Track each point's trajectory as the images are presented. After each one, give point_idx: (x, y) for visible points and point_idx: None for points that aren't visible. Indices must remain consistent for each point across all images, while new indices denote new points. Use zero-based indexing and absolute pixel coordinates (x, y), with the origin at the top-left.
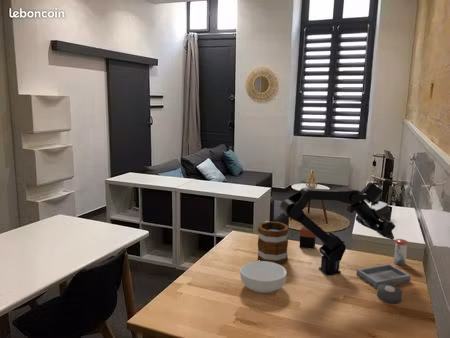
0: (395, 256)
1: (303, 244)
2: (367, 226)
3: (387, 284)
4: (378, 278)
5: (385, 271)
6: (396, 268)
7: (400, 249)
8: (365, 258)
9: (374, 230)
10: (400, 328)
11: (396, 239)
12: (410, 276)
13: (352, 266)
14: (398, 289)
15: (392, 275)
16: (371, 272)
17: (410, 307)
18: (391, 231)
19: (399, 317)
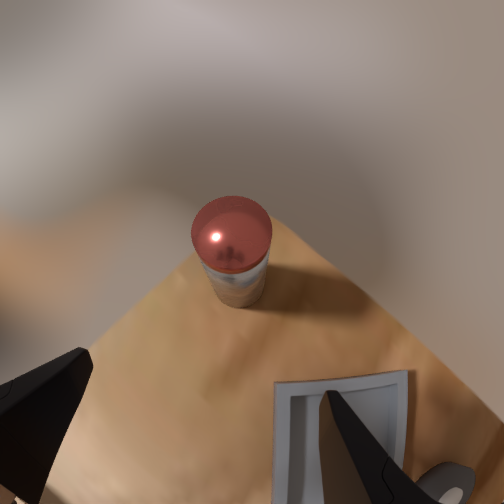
0: (231, 298)
1: None
2: (42, 480)
3: None
4: None
5: (308, 430)
6: (335, 387)
7: (257, 276)
8: (136, 393)
9: (76, 408)
10: (497, 500)
11: (194, 241)
12: (405, 370)
13: (189, 500)
14: (460, 475)
15: None
16: (292, 490)
17: (480, 455)
18: (411, 485)
19: (484, 493)
